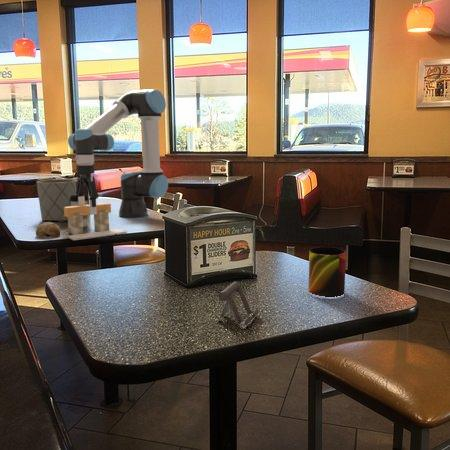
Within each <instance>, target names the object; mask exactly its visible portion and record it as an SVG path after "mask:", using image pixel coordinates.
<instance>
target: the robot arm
mask: <svg viewBox="0 0 450 450" xmlns="http://www.w3.org/2000/svg"><path fill="white" fill-rule="evenodd" d="M166 105H167V102H166V98H165V96H164V94H163V93H162V92H161V91H160V90H159V89H151V88H149V89H148V88H147V89H138V90H136V89H135V90H131V91H128V92H127V93H125V94H124V95H122V96H120V97H119V98H118V99H116V100H115V101H113V103H112V106H110V108H108V109H107V110H106V111H104V112H103V113H102V114H101V115H99V116H98V117H97V118H96V119H94V120H93V121H92V122H91V123H90V124H88V125H87V126H86V127H84V128H76V129H75V130H74V133H72V134H70V135H69V136H68V138H67V143H68V147H69V148H70V149H72V150H74V151H75V157H74V159H75V163H76V167H75V168H76V174H77V180H76V195H77V196H79V197H78V204H79V205H85V195H86V194H85V191H86V189H87V193H88V201H89V205H90V215H89V216H91V215H93V216H94V214H97V208H96V204H97V199H98V198H99V194H98V189H97V184H96V181H95V176H93V175H92V174H94V173H95V165H94V164H95V155H94V151H104V152H105V151H110V150H112V149H113V148H114V146H115V139H114V137H113V135H112V134H110V133H106V132H109V130H110V129H112V128H113V127H114V126H115V125H116V124H118V123H119V122H120V121H121V120H122V119H126V118H128V117H129V116H132V115H137V117H138V119H139V120H140V122H141V124H140V125H141V147H142V169H141V170H140V171H131V172H126V173H125V172H124V173H122V174H121V175H120V191H121V192H120V193H121V203H120V208H119V209H118V216H119V217H123V218H139V217H140V218H141V217H146V216H148V213H149V211H148V208H147V206H146V203H145V198H146V197H147V198H152V199H153V198H162V197H163V196H165V194H166V193H167V191H168V188H169V180H168V177H167V176H166V175H164V170H163V169H162V168H161V160H160V159H161V158H160V156H161V155H160V154H161V153H160V131H159V130H160V127H159V123H160V122H159V121H160V120H161V118H162V114H163V112H165V109H166V108H167V107H166Z"/></svg>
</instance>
